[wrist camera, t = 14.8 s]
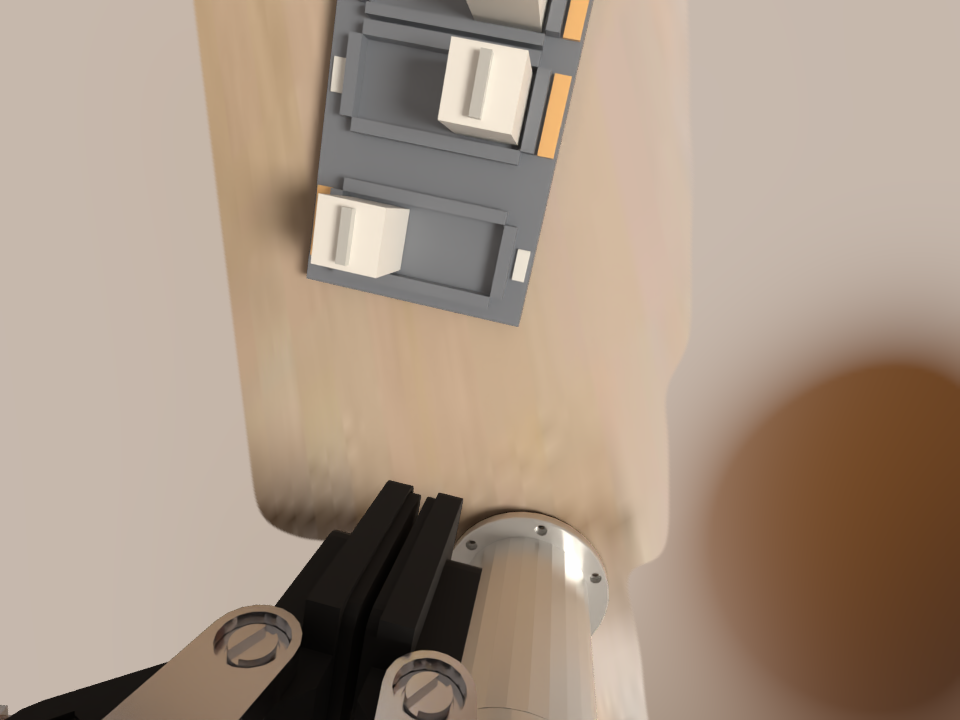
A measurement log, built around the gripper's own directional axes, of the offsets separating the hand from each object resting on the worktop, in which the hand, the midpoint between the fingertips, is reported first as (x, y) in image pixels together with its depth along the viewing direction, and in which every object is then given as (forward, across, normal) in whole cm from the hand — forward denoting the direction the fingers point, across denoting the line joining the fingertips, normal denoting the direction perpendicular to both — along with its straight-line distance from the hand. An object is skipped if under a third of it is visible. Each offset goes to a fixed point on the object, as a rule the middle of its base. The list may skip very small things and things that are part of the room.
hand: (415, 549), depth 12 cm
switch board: (+26, +7, -12) cm, 30 cm away
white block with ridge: (+25, +4, -14) cm, 29 cm away
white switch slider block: (+25, +10, -5) cm, 28 cm away
